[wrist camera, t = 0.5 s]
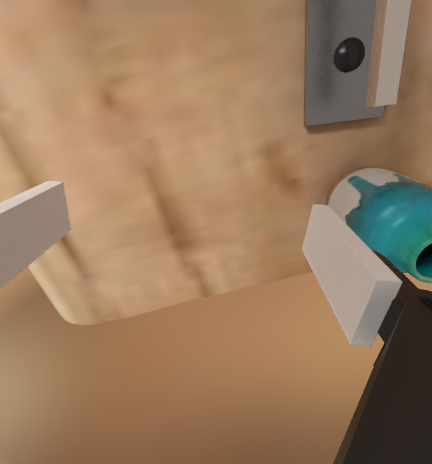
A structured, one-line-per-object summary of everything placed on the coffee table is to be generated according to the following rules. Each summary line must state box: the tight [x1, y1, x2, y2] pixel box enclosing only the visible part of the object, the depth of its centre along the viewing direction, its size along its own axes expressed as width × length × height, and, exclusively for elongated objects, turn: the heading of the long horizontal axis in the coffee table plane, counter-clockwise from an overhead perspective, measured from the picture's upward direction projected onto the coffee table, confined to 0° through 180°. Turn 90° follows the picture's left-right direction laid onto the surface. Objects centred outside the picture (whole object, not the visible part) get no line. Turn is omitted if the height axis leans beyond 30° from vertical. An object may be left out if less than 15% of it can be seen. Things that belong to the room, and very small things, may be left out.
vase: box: [326, 167, 432, 283], centre depth 33 cm, size 11×11×19 cm
